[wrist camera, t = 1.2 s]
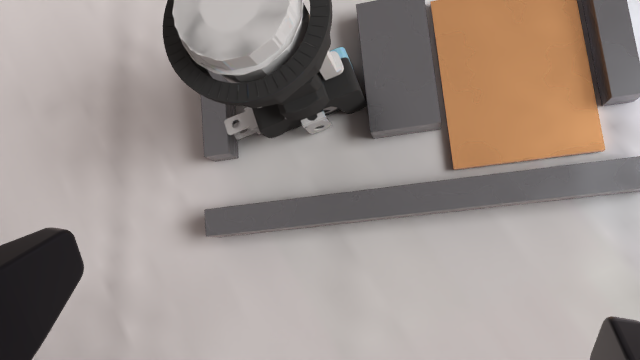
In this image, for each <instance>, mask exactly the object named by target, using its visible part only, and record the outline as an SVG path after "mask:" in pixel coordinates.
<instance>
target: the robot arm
mask: <svg viewBox="0 0 640 360" xmlns="http://www.w3.org/2000/svg"><path fill="white" fill-rule="evenodd" d="M83 271H84V264H83V260H82V258H81V255H80V252H79V249H78V246H77V243H76V240H75V237H74V235H73V234H72V233H71V232H70V231H68V230H65V229H59V228H45V229H42V230H40V231H37V232H34V233H32V234H29V235H27V236H24V237H21V238H19V239H16V240H14V241H11V242H9V243H6V244H3V245H1V246H0V360H32V358H33V357H34V355H35V354H36V352H37V351H38V349H39V348H40V346H41V345H42V343H43V342H44V340H45V338H46V337H47V335H48V333H49V332H50V330H51V328H52V327H53V325H54V323H55V321H56V320H57V318H58V316H59V315H60V313H61V311H62V310H63V308H64V306H65V305H66V303H67V301H68V299H69V298H70V296H71V294H72V293H73V291H74V289H75V288H76V286H77V284H78V282H79V281H80V279H81V277H82V275H83ZM590 360H640V322H639V321H636V320H631V319H625V318H619V317H608V318H606V319H605V320H604V322H603V324H602V326H601V329H600V332H599V334H598V337H597V340H596V342H595V345H594V347H593V350H592V353H591V356H590Z"/></svg>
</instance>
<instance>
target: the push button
mask: <svg viewBox="0 0 640 360" xmlns="http://www.w3.org/2000/svg"><path fill="white" fill-rule="evenodd" d="M331 23H332V2H331V0H310V14H309V13H308V11H307V9H306V7H305V5H304V3H303V0H168V1H167V5H166V8H165V13H164V19H163V39H164V45H165V49H166V53H167V56H168V59H169V61H170V63H171V65H172V67H173V68H174V70H175V72H176V73H177V74H178V76H179V77H180V78H181V79H182V80H183V81H184V82H185V83H186V84H187V85H188V86H189V87H191V88H192V89H193V90H195V91H196V92H198V93H199V94H201V95H203V96H204V97H206V98H208V99H210V100H213V101H215V102H219V103H222V104H228V105H244V106H247V107H246V108H244V111H245V112H242V113H240V114H237V115H235V116H233V117H230V118H228V119H226V120H225V121H224V123H225V126H226V129H227V133H228V134H229V135H233V134H234V135H235V138H236V139H238V140H239V139H241V138H244V137H246V136H249V135H251V134H253V133H256V132H257V134H258V135H259V134H261V133H262V134H263V135H265V136H266V137H268V138H274V137H277V136H279V135H281V134H283V133H285V132H287V131H289V130H292V129H294V128H297V127H299V126H302V125H303V127H304V128H305V129H306V130H307V131H308V132H309V133H310V134H314V133H317V132H319V131H322V130H324V129H327V128H329V127H331V126H332V124H331V123H330V121H329V120H328V119H327V118H326V115H329V114H331V113H333V112H336V111H338V110H342V111H344V112H346V113H348V114H350V113H354V112H356V111H359V110H361V109H363V108H365V107H366V106H367V103H366V100H365V98H364V95H363V93H362V90H361V87H360V85H359V82H358V80H357V77H356V74H355V72H354V69H353V66H352V64H351V62H350V60H349V57H348V55H347V53H346V50H345V48H343V47H339V48H336V49H334V50H331V51H329V47H330V44H331V39H330V29H331ZM207 69H208V70H210V71H211V72H213V73H216V74H221V75H222V76H223V77H224V78H225V79H227V80H228V81H229V82H231V83H228V82H223V81H219V80H216V79H213V78H212V76H211V75H210V73H209V72H208V70H207ZM235 120H239V121H240V122H238V123H235V124H233V126H232V123H233V121H235ZM321 125H323V126H322V127H320V128H317V129H315V128H316V127H318V126H321ZM245 129H247V131H246V132H245V133H241V132H240V131H243V130H245Z"/></svg>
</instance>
